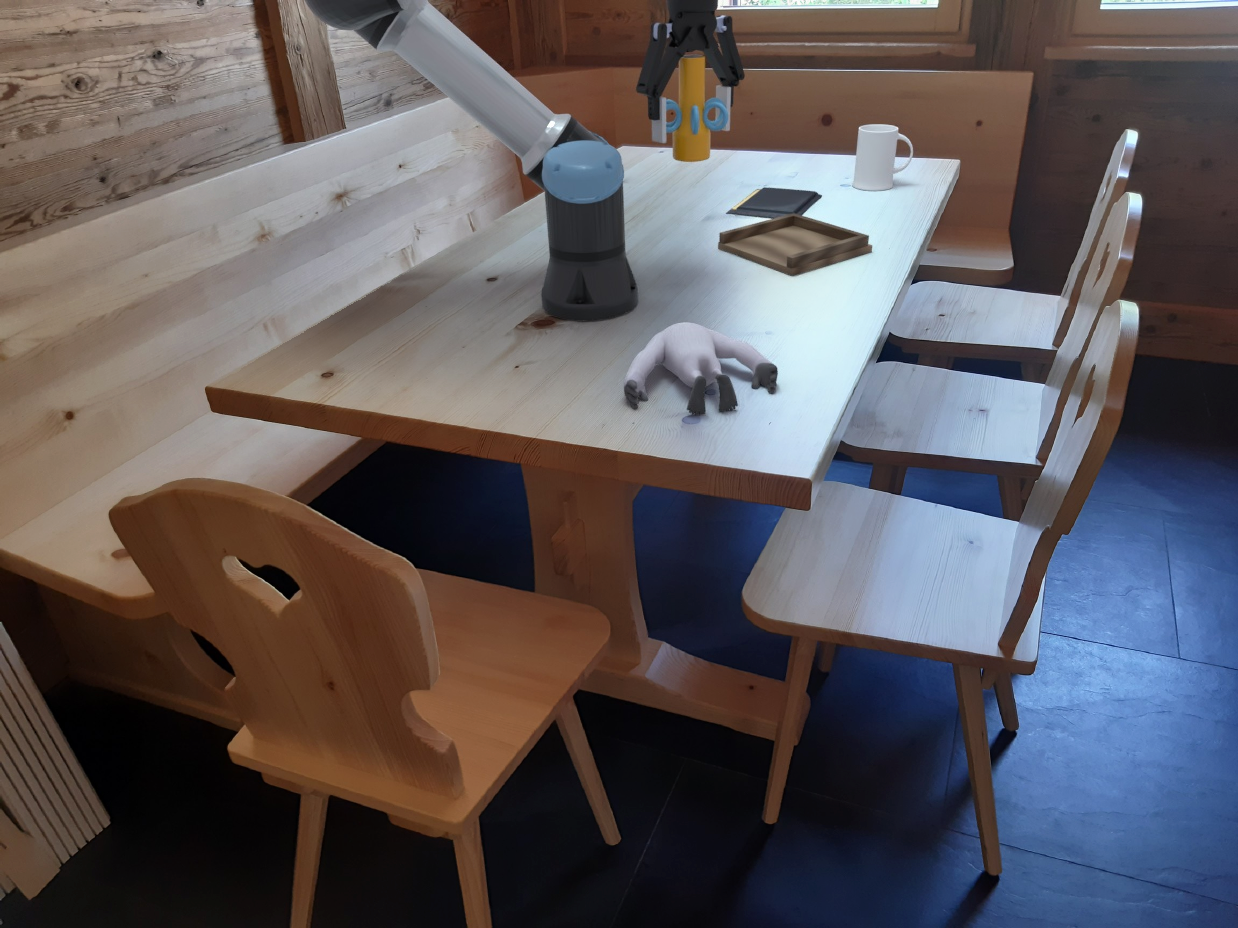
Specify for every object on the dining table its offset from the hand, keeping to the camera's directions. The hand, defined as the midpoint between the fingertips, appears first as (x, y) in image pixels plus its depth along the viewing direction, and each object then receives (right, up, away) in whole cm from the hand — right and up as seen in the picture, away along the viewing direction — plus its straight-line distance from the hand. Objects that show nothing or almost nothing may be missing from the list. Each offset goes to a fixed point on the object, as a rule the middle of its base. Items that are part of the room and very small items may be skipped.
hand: (691, 135), depth 144 cm
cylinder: (0, -3, +2) cm, 4 cm away
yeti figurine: (-1, -41, -25) cm, 48 cm away
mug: (+45, +8, +52) cm, 69 cm away
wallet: (+21, +1, +44) cm, 49 cm away
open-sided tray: (+20, -14, +18) cm, 30 cm away
